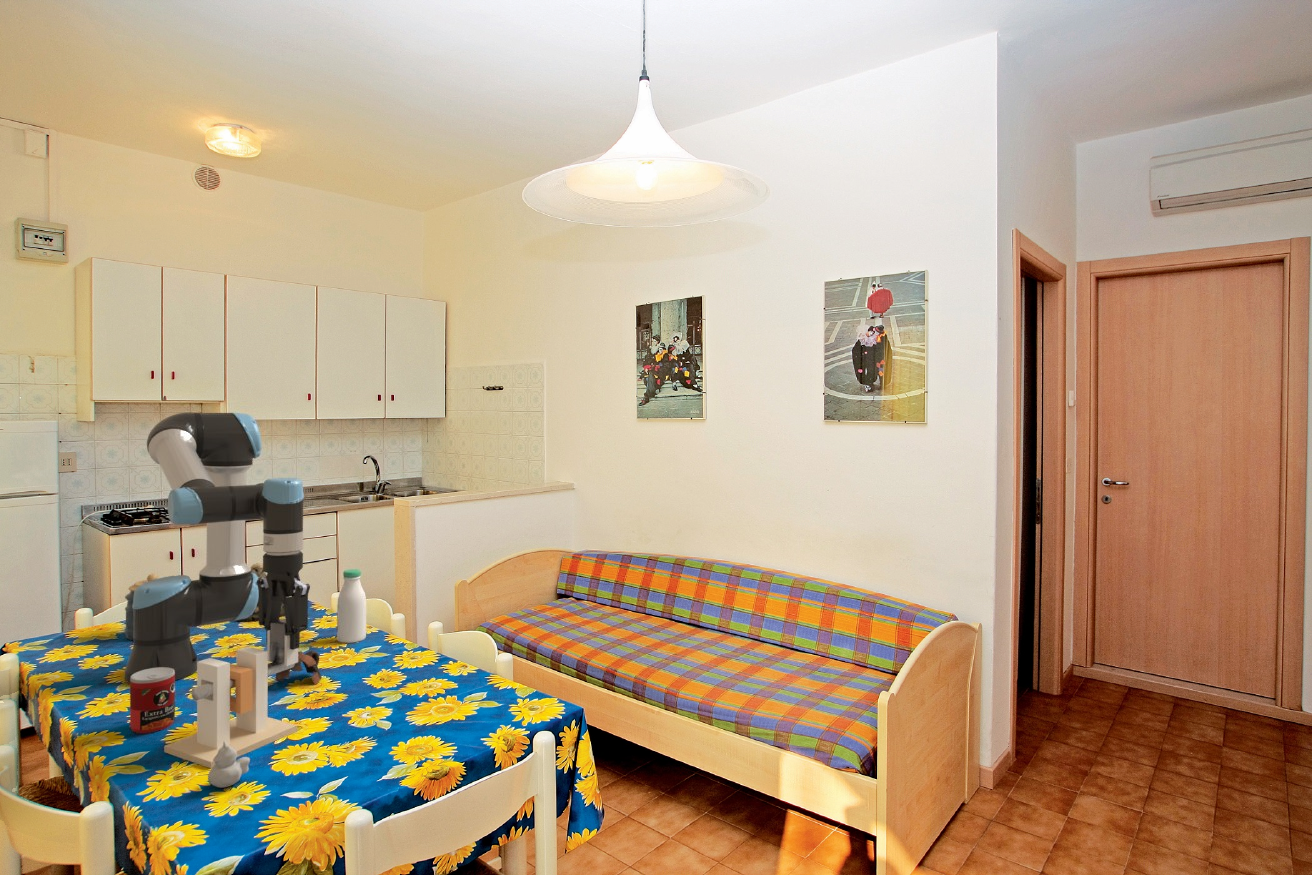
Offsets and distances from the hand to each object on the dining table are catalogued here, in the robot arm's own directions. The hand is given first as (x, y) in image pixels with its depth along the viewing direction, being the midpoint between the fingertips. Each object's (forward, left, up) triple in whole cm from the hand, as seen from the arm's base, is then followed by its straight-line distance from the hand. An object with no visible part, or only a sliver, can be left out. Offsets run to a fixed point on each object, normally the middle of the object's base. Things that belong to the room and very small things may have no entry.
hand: (282, 661), depth 155 cm
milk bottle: (-32, +47, -13) cm, 58 cm away
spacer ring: (0, -11, -6) cm, 13 cm away
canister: (-85, +23, -13) cm, 89 cm away
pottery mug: (-17, +18, -13) cm, 28 cm away
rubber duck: (+15, -22, -13) cm, 30 cm away
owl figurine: (-76, +50, -13) cm, 92 cm away
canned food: (-21, -14, -13) cm, 28 cm away
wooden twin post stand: (0, -11, -13) cm, 17 cm away
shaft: (0, -8, -2) cm, 8 cm away
